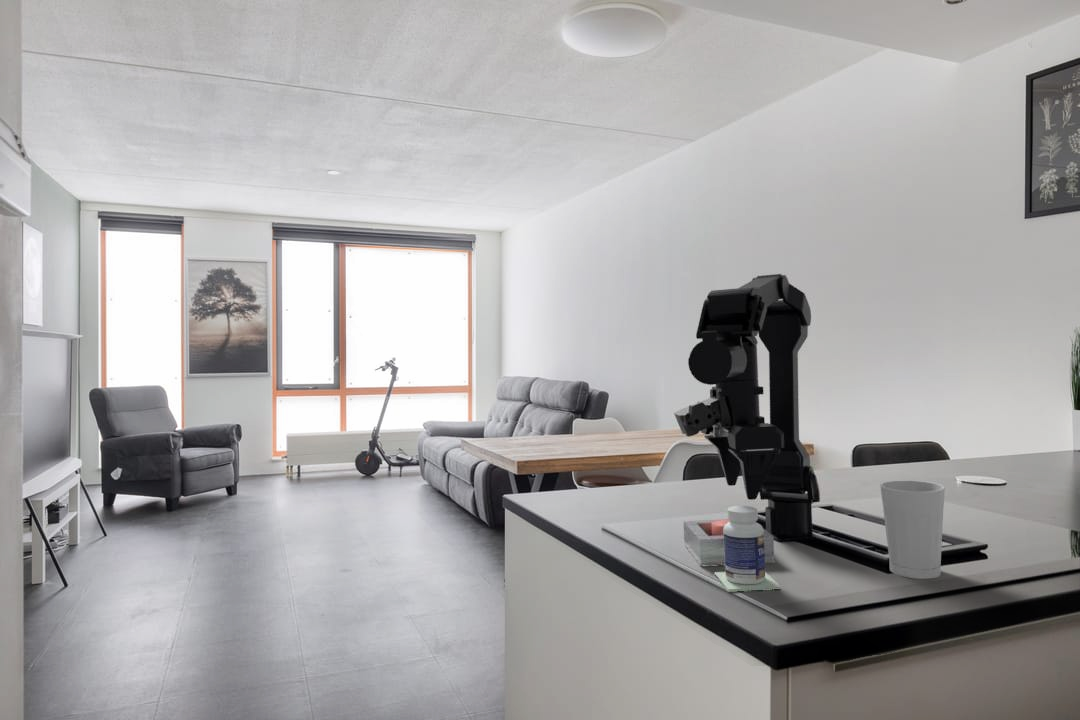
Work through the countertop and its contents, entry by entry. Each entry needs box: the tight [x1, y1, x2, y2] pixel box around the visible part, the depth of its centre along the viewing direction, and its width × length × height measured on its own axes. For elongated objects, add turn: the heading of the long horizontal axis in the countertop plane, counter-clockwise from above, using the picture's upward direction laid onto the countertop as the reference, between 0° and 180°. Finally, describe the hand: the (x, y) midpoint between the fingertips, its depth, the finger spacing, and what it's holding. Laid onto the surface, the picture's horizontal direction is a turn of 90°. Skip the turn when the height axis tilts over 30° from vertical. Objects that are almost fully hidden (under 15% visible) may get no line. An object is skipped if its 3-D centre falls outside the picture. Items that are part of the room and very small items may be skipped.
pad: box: [714, 571, 781, 593], centre depth 97 cm, size 7×7×1 cm
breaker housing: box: [683, 518, 775, 566], centre depth 110 cm, size 11×11×4 cm
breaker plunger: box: [712, 519, 730, 536], centre depth 110 cm, size 4×4×3 cm
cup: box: [879, 479, 946, 580], centre depth 98 cm, size 8×8×12 cm
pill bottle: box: [723, 505, 766, 584], centre depth 97 cm, size 5×5×10 cm
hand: (741, 492), depth 97 cm, fingers open, 9 cm apart
